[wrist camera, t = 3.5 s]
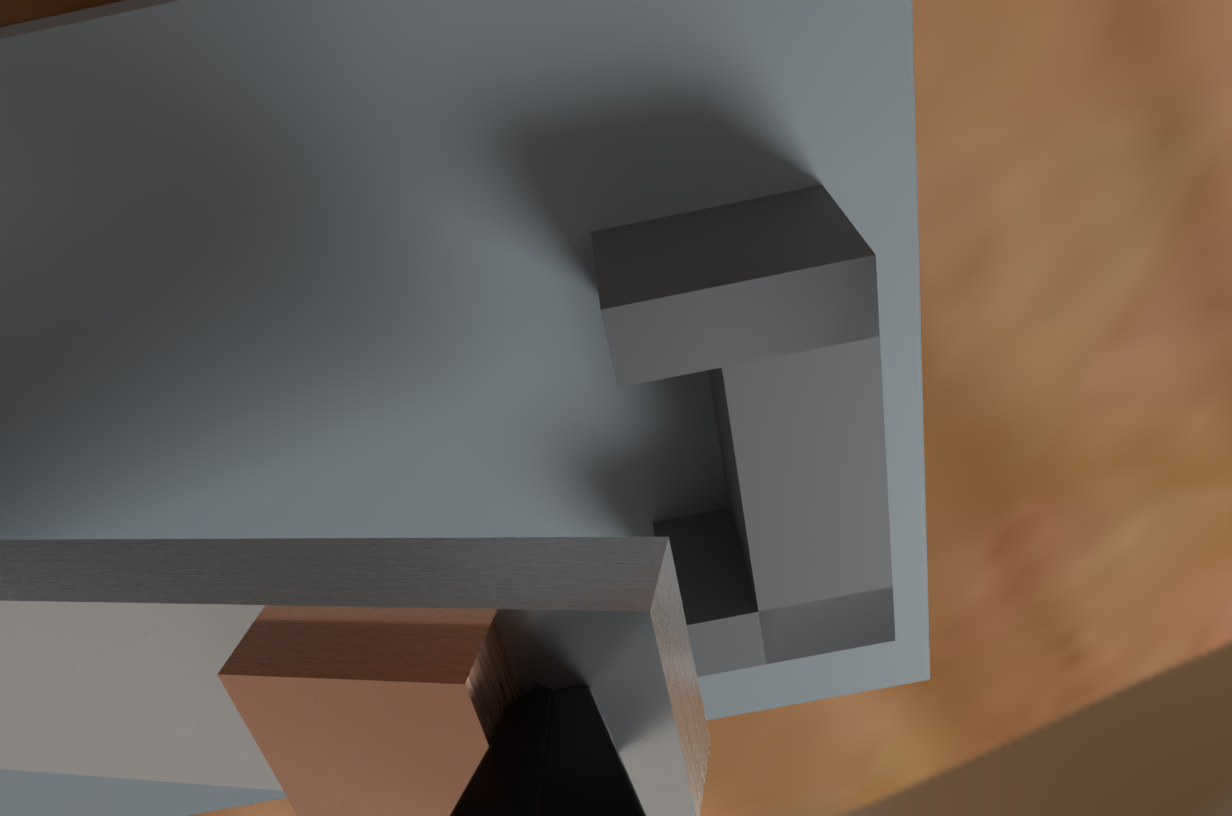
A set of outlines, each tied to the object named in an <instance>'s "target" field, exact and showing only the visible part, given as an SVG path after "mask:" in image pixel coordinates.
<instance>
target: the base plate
mask: <svg viewBox="0 0 1232 816" xmlns="http://www.w3.org/2000/svg"><path fill="white" fill-rule="evenodd" d="M484 537H669V541H670V546H671V550H672V555H673V560H674V565H675V570H676V575H677V580H678V585H679V590H680V595H681V599H682V604H683V609H684V614H685V619H686V624H687V629H688V634H689V639H690V644H691V648H692V653H693V658H694V663H695V668H696V673H697V678H698V683H699V688H700V693H701V697H702V702H703V707H704V712H705V717H706V720H712V719H717V718H723V717H728V716H733V715H739V714H744V713H750V712H755V711H761V710H766V709H772V708H777V707H783V706H788V705H793V704H799V703H804V702H810V701H815V700H821V699H826V698H832V697H837V696H843V695H848V694H853V693H859V692H864V691H870V690H875V689H881V688H886V687H892V686H897V685H903V684H908V683H913V682H919V681H924V680H930V656H929V618H928V580H927V542H926V505H925V467H924V429H923V391H922V353H921V315H920V277H919V240H918V202H917V164H916V126H915V88H914V50H913V13H912V0H124V1H119V2H115V3H110V4H106V5H101V6H96V7H92V8H87V9H83V10H78V11H73V12H69V13H64V14H59V15H55V16H50V17H46V18H41V19H36V20H32V21H27V22H23V23H18V24H13V25H9V26H4V27H0V540H42V539H263V538H484ZM286 797H287V796H286V794H285V792H284V791H281V790H268V789H255V788H242V787H229V786H216V785H203V784H190V783H177V782H164V781H150V780H137V779H124V778H111V777H98V776H85V775H72V774H59V773H46V772H33V771H20V770H7V769H0V816H188V815H193V814H199V813H204V812H210V811H215V810H221V809H226V808H232V807H237V806H243V805H248V804H253V803H259V802H264V801H270V800H275V799H281V798H286Z"/></svg>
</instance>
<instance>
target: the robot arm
mask: <svg viewBox="0 0 1232 816" xmlns="http://www.w3.org/2000/svg"><path fill="white" fill-rule="evenodd" d="M450 816H646V814H645V812H644V809H643V807H642V805H641V802H640V800H639V798H638V795H637V793H636V791H635V789H634V786H633V784H632V782H631V779H630V777H629V775H628V772H627V770H626V768H625V766H624V763H623V761H622V759H621V756H620V754H619V752H618V749H617V747H616V745H615V742H614V740H613V738H612V736H611V733H610V731H609V729H608V726H607V724H606V722H605V719H604V717H603V715H602V712H601V710H600V708H599V706H598V703H597V701H596V699H595V696H594V694H593V692H592V690H591V688H590V687H588V686H573V687H566V688H560V689H555V690H546V691H540V692H533V693H527V694H522V695H520V696H519V697H518V698H517V699H516V700H515V701H514V703H513V705H512V706H511V708H510V710H509V712H508V714H507V715H506V717H505V719H504V721H503V722H502V724H501V726H500V728H499V729H498V731H497V733H496V735H495V737H494V738H493V740H492V742H491V744H490V745H489V747H488V749H487V751H486V752H485V754H484V756H483V758H482V759H481V761H480V763H479V765H478V767H477V768H476V770H475V772H474V774H473V775H472V777H471V779H470V781H469V782H468V784H467V786H466V788H465V790H464V791H463V793H462V795H461V797H460V798H459V800H458V802H457V804H456V805H455V807H454V809H453V811H452V812H451V814H450Z"/></svg>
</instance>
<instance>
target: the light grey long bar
mask: <svg viewBox="0 0 1232 816" xmlns="http://www.w3.org/2000/svg"><path fill="white" fill-rule="evenodd" d="M573 686H588V687H590V688H591V690H592V692H593V694H594V696H595V699H596V701H597V703H598V706H599V708H600V710H601V712H602V715H603V717H604V719H605V722H606V724H607V726H608V729H609V731H610V733H611V736H612V738H613V740H614V742H615V745H616V747H617V749H618V752H619V754H620V756H621V759H622V761H623V763H624V766H625V768H626V770H627V772H628V775H629V777H630V779H631V782H632V784H633V786H634V789H635V791H636V793H637V795H638V798H639V800H640V802H641V805H642V807H643V809H644V812H645V814H646V816H699V813H700V807H701V801H702V794H703V788H704V782H705V775H706V769H707V763H708V756H709V750H710V744H711V742H710V737H709V732H708V727H707V722H706V717H705V712H704V707H703V702H702V697H701V693H700V688H699V683H698V678H697V673H696V668H695V663H694V658H693V653H692V648H691V644H690V639H689V634H688V629H687V624H686V619H685V614H684V609H683V604H682V599H681V595H680V590H679V585H678V580H677V575H676V570H675V565H674V560H673V555H672V550H671V546H670V541H669V537H484V538H263V539H42V540H0V769H7V770H20V771H33V772H46V773H59V774H72V775H85V776H98V777H111V778H124V779H137V780H150V781H164V782H177V783H190V784H203V785H216V786H229V787H242V788H255V789H268V790H281V791H284V792H285V794H286V796H287V798H288V799H289V801H290V803H291V805H292V807H293V808H294V810H295V812H296V814H297V815H298V816H450V814H451V812H452V811H453V809H454V807H455V805H456V804H457V802H458V800H459V798H460V797H461V795H462V793H463V791H464V790H465V788H466V786H467V784H468V782H469V781H470V779H471V777H472V775H473V774H474V772H475V770H476V768H477V767H478V765H479V763H480V761H481V759H482V758H483V756H484V754H485V752H486V751H487V749H488V747H489V745H490V744H491V742H492V740H493V738H494V737H495V735H496V733H497V731H498V729H499V728H500V726H501V724H502V722H503V721H504V719H505V717H506V715H507V714H508V712H509V710H510V708H511V706H512V705H513V703H514V701H515V700H516V699H517V698H518V697H519V696H520V695H522V694H527V693H533V692H540V691H546V690H555V689H560V688H566V687H573Z"/></svg>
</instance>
